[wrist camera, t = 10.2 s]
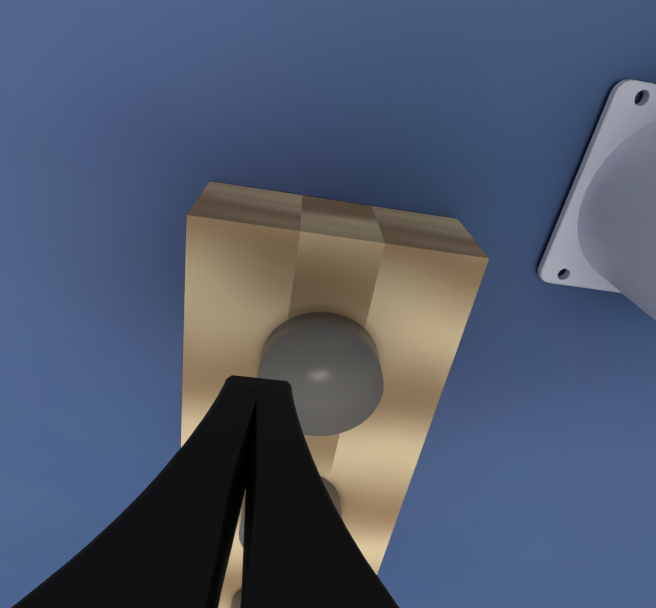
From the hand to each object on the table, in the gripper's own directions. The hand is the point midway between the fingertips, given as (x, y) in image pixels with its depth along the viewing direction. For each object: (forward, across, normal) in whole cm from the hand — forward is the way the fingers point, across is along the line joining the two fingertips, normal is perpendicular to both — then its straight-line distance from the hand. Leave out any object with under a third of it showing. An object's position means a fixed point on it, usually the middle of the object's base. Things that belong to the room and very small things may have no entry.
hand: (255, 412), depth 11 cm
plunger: (+10, -2, +3) cm, 11 cm away
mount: (+10, -2, +11) cm, 15 cm away
